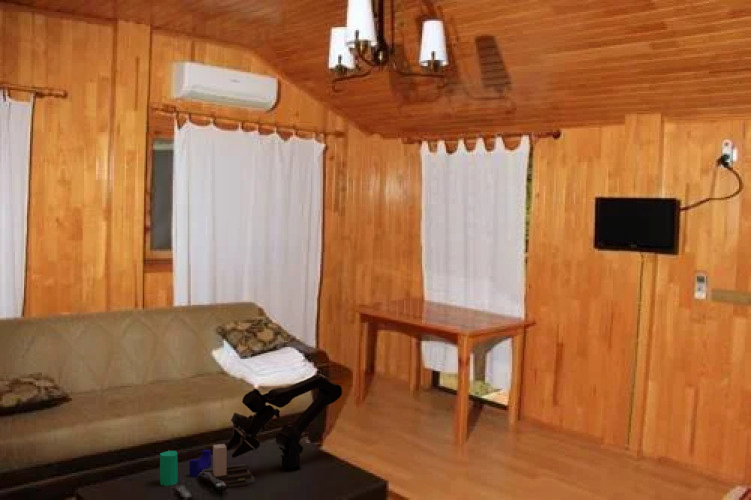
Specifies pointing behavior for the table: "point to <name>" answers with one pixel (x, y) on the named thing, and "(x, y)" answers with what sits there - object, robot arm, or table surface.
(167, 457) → the candle
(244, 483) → the cord near
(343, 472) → the table surface
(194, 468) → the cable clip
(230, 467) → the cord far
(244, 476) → the panel
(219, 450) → the pinkish beige rectangular block
